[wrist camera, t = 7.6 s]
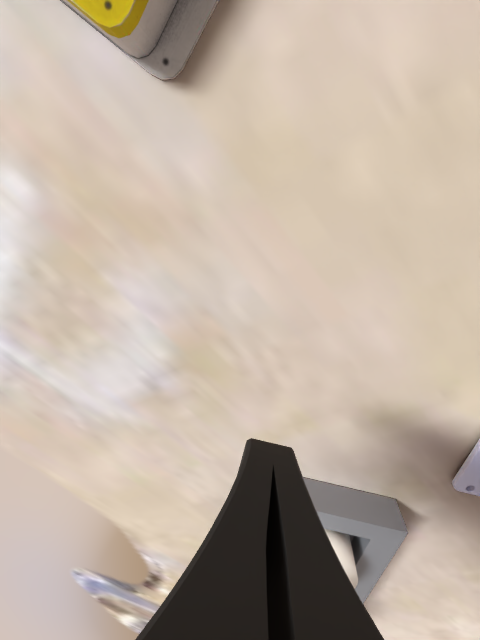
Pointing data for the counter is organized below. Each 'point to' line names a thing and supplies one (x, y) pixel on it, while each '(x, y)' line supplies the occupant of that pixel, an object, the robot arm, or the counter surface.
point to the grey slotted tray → (361, 527)
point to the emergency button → (149, 29)
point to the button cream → (344, 553)
